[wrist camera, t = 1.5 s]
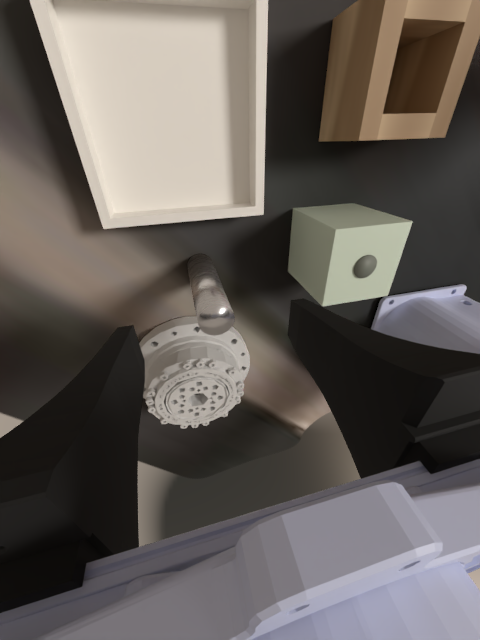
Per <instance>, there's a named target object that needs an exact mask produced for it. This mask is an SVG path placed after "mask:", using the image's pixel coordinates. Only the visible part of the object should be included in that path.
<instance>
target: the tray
mask: <svg viewBox="0 0 480 640" xmlns="http://www.w3.org/2000/svg"><path fill="white" fill-rule="evenodd" d="M30 4H31V7H32V10H33V13H34V16H35V19H36V22H37V25H38V28H39V31H40V34H41V38H42V41H43V44H44V47H45V50H46V53H47V56H48V59H49V62H50V65H51V68H52V72H53V75H54V78H55V81H56V84H57V87H58V90H59V93H60V96H61V99H62V102H63V106H64V109H65V112H66V115H67V118H68V121H69V124H70V127H71V130H72V133H73V136H74V140H75V143H76V146H77V149H78V152H79V155H80V158H81V161H82V164H83V167H84V170H85V174H86V177H87V180H88V183H89V186H90V189H91V192H92V195H93V198H94V201H95V204H96V207H97V211H98V214H99V217H100V220H101V223H102V226H103V229H109V228H120V227H131V226H143V225H154V224H165V223H176V222H187V221H198V220H209V219H221V218H232V217H243V216H254V215H264V170H265V122H266V75H267V28H268V0H30Z"/></svg>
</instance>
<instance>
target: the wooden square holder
mask: <svg viewBox="0 0 480 640" xmlns="http://www.w3.org/2000/svg"><path fill="white" fill-rule="evenodd" d="M479 37H480V0H358V1H357V2H355V3H354V4H353V5H351V6H350V7H348V8H347V9H346V10H344V11H343V12H342V13H340V14H339V15H338V16H336V17H335V18H334V19H333V24H332V33H331V41H330V50H329V58H328V66H327V75H326V83H325V92H324V100H323V109H322V117H321V126H320V134H319V142H321V141H367V140H393V139H418V138H444V137H445V136H446V133H447V130H448V127H449V124H450V121H451V118H452V115H453V112H454V109H455V106H456V104H457V101H458V98H459V95H460V92H461V89H462V86H463V83H464V80H465V77H466V75H467V72H468V69H469V66H470V63H471V60H472V57H473V54H474V51H475V48H476V46H477V43H478V40H479Z"/></svg>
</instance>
